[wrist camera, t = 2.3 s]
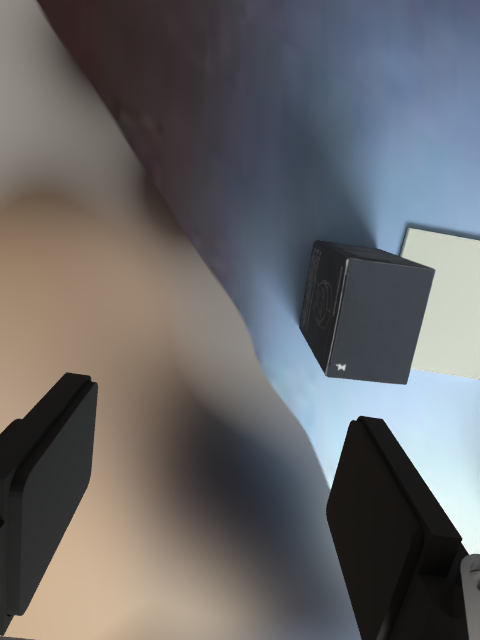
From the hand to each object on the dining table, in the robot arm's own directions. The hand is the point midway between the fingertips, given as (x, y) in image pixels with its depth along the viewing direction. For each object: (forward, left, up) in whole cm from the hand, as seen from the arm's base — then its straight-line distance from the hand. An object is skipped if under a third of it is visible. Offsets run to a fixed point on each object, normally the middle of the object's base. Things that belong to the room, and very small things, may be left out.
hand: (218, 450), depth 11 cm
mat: (0, +20, -26) cm, 33 cm away
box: (0, +10, -26) cm, 28 cm away
